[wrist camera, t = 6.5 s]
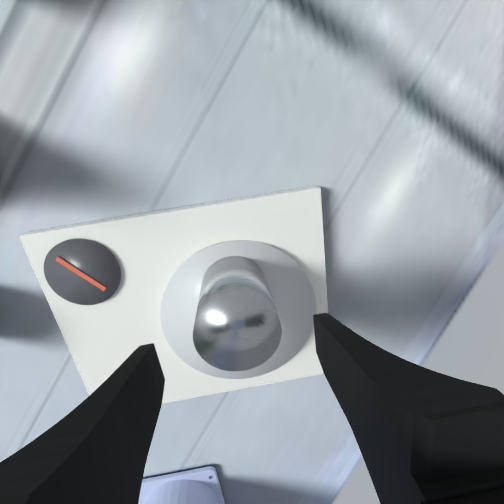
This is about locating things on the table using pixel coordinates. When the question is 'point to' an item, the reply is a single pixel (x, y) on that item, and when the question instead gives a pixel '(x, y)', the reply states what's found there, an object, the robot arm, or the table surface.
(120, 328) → the scale
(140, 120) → the table surface
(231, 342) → the cylinder
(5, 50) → the table surface
